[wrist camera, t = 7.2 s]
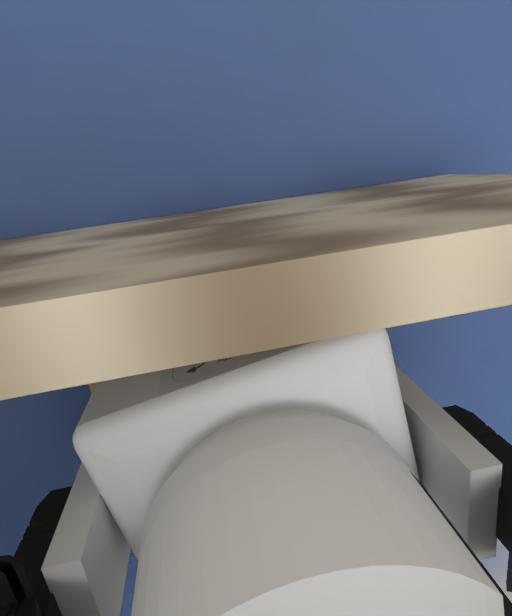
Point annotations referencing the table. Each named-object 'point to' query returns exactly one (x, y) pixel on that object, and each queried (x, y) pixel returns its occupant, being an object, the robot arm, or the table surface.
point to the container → (278, 489)
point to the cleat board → (249, 278)
